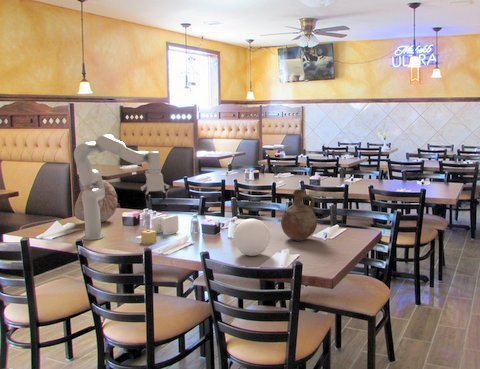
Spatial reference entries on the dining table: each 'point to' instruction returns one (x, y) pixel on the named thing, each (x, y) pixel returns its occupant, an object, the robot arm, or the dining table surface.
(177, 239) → the dining table surface
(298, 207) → the jug
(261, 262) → the dining table surface
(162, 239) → the board
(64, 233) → the dining table surface
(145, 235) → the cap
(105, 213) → the fossil
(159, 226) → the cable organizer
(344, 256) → the dining table surface
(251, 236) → the sphere
